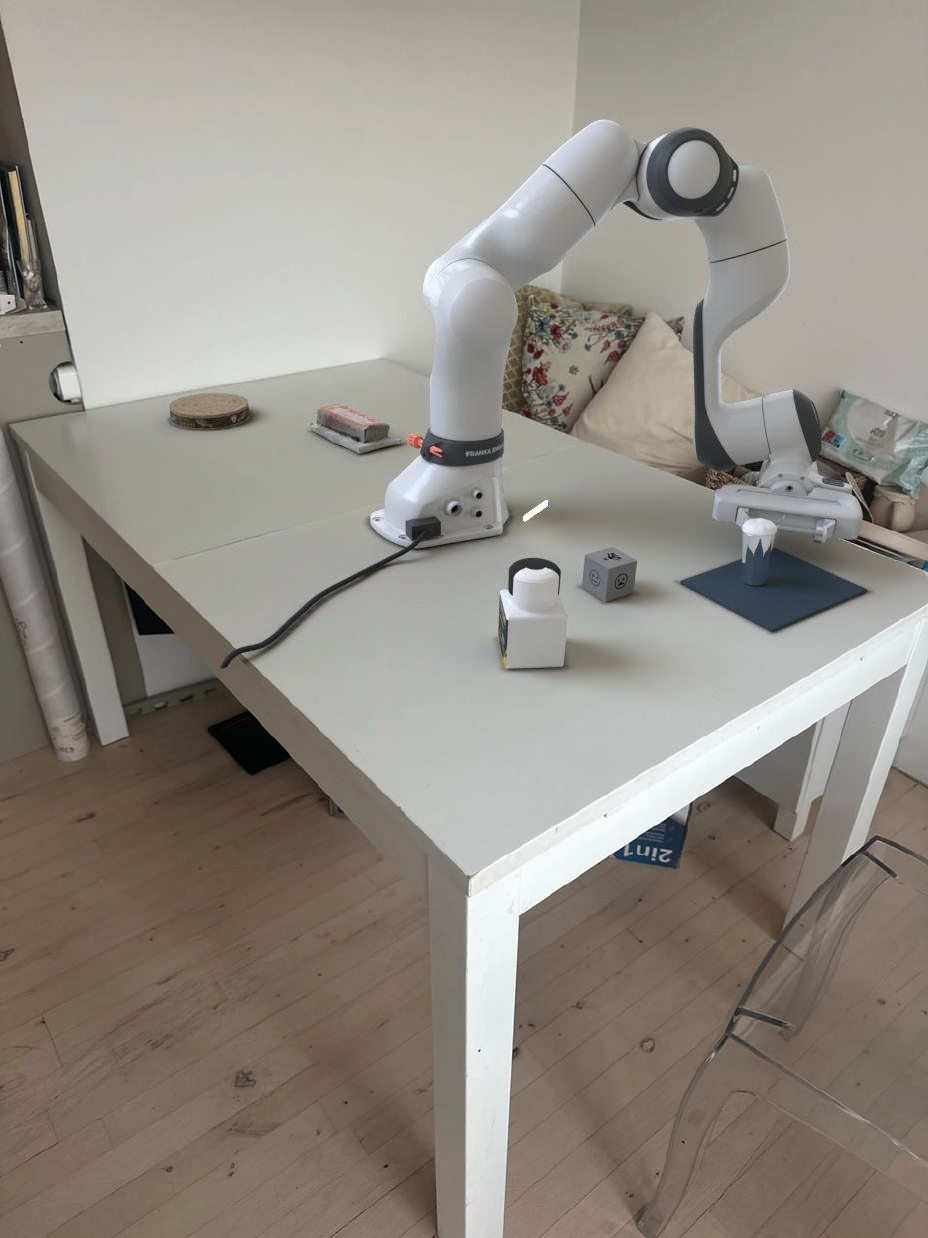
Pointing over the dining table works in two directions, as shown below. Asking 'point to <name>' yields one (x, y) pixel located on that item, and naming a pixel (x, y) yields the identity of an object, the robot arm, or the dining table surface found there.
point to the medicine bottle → (532, 616)
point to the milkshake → (757, 550)
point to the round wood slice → (209, 411)
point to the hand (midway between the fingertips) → (784, 533)
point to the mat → (775, 590)
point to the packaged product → (352, 429)
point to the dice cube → (609, 574)
